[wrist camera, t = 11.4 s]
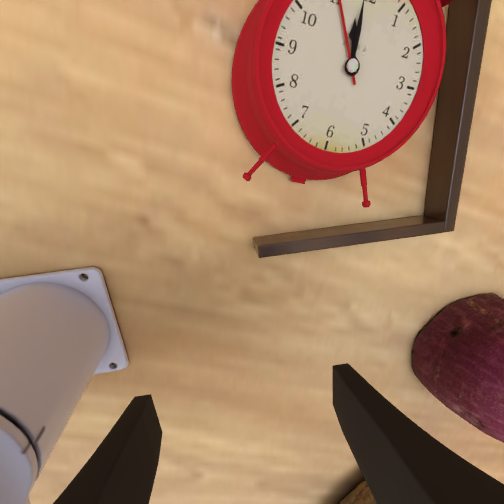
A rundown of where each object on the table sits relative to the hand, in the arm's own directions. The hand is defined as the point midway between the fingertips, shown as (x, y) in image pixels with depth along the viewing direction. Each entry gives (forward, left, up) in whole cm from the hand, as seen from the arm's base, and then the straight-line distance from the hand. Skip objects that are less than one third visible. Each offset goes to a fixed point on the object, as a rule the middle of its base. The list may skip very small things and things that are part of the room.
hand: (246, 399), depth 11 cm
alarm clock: (+7, +14, -10) cm, 18 cm away
